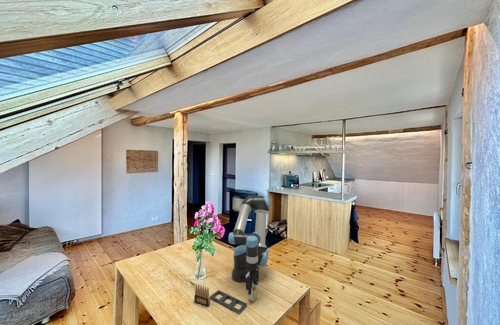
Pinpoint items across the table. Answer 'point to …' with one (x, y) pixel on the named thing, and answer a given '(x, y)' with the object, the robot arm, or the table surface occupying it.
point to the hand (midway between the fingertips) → (252, 296)
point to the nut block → (254, 294)
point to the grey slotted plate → (230, 305)
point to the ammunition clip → (202, 296)
